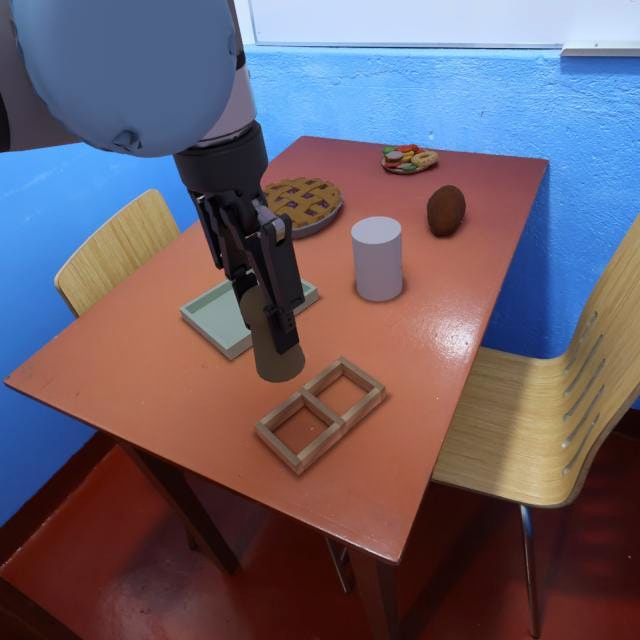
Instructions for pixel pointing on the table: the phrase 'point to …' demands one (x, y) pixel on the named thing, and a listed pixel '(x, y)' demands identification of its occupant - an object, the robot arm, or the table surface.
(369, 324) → the table surface
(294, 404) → the two-slot wooden frame
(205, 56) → the robot arm
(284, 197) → the pie
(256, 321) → the brown pawn
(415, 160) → the toy food set
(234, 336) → the tray
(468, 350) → the table surface
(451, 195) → the potato
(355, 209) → the table surface
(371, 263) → the cup
